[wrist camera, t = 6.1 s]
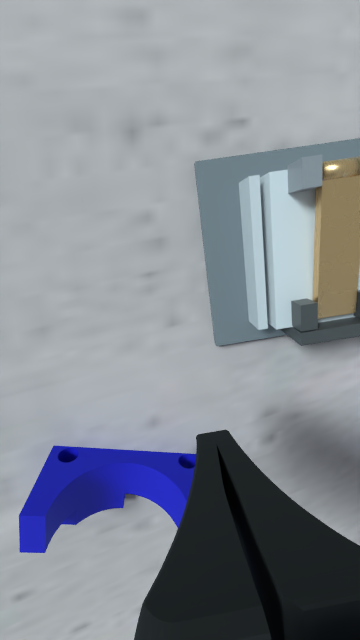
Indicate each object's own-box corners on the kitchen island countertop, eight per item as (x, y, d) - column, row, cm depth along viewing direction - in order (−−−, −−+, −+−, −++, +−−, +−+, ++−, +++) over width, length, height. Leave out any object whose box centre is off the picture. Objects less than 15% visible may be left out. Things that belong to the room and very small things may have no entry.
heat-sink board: (411, 133, 18) (495, 99, 13) (396, 313, 21) (458, 333, 17) (194, 164, 17) (206, 139, 13) (214, 343, 21) (230, 371, 16)
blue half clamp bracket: (53, 488, 24) (20, 569, 18) (54, 444, 22) (19, 515, 17) (193, 494, 25) (203, 571, 19) (201, 453, 24) (215, 521, 18)
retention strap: (358, 157, 15) (372, 153, 14) (347, 308, 18) (357, 313, 17) (314, 164, 15) (325, 160, 14) (310, 314, 18) (319, 320, 17)
